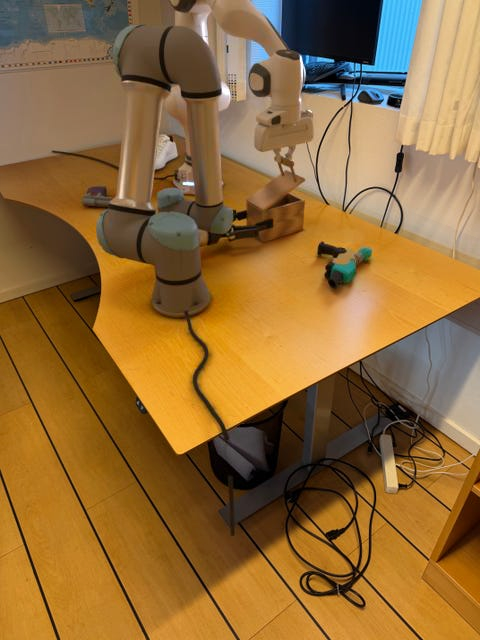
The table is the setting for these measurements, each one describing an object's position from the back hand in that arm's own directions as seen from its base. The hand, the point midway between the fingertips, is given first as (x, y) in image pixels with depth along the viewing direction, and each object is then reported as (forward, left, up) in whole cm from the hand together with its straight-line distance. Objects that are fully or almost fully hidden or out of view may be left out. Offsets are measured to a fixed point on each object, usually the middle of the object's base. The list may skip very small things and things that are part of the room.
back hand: (283, 160), depth 148 cm
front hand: (0, -8, -17) cm, 18 cm away
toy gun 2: (+31, -4, -23) cm, 39 cm away
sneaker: (-86, -4, -23) cm, 89 cm away
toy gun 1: (-57, -39, -23) cm, 73 cm away
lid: (0, -3, -9) cm, 10 cm away
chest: (0, -3, -23) cm, 23 cm away
